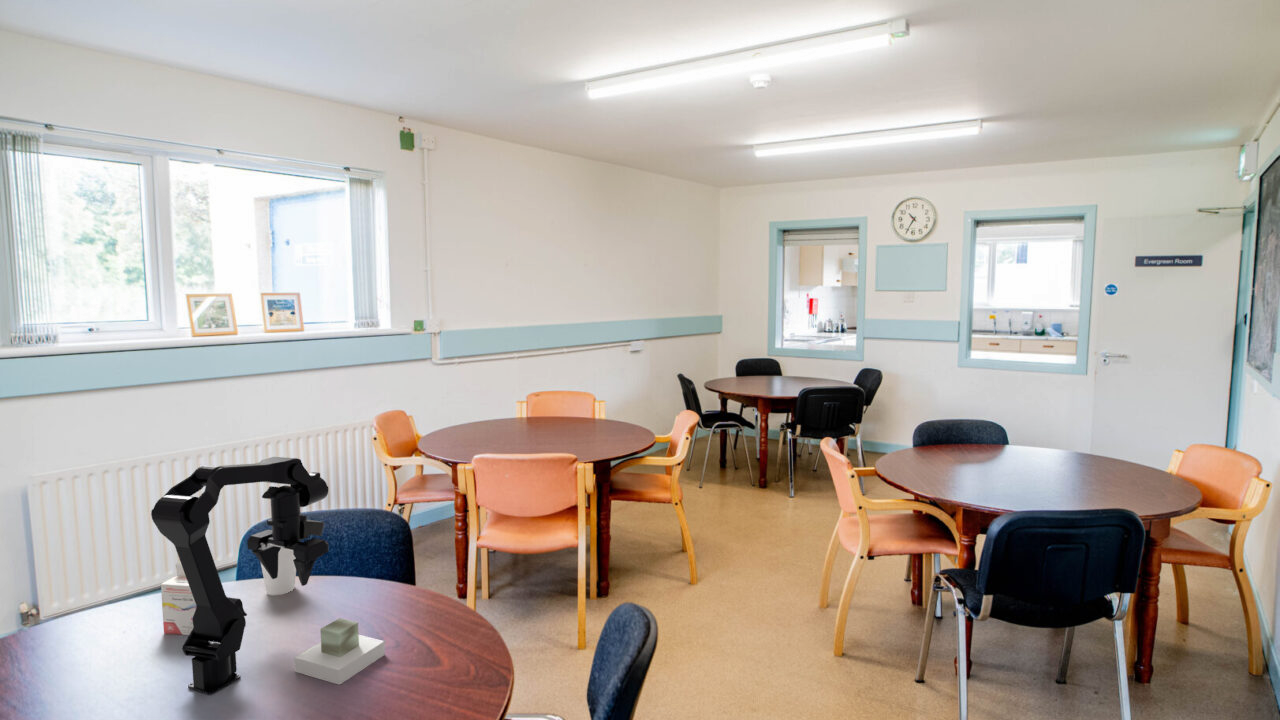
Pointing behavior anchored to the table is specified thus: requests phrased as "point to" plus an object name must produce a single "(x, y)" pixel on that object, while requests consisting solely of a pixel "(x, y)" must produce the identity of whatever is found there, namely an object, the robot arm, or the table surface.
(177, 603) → the ink cartridge box
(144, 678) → the table surface
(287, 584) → the foam cup
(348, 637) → the sage cube
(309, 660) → the white block
